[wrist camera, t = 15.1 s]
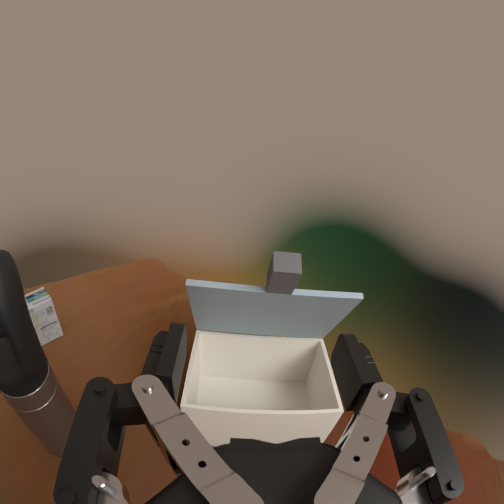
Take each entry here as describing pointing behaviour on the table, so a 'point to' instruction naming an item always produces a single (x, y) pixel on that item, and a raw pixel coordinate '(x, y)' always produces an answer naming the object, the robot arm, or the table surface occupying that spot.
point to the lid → (269, 304)
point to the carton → (260, 388)
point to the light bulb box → (43, 315)
